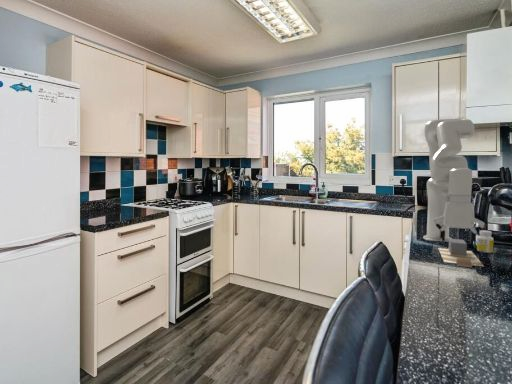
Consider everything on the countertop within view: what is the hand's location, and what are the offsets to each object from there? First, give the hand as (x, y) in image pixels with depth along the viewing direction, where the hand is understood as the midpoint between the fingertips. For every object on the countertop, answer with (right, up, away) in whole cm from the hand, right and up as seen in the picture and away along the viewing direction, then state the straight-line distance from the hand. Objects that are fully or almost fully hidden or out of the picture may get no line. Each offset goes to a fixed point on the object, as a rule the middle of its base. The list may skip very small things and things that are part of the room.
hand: (456, 241), depth 122 cm
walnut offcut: (-7, -7, -15) cm, 18 cm away
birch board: (-2, -7, -4) cm, 8 cm away
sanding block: (0, -5, 0) cm, 5 cm away
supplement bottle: (+14, -6, +4) cm, 16 cm away
